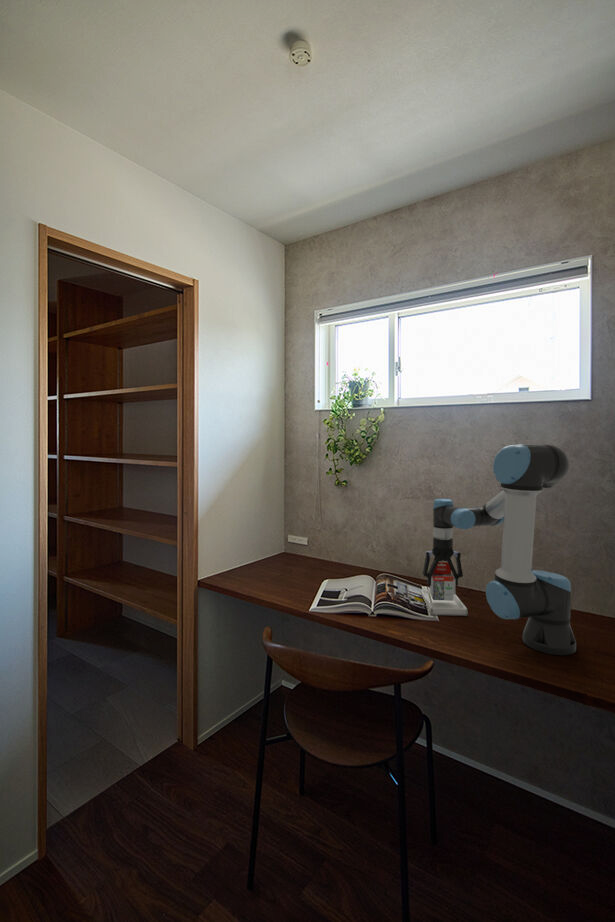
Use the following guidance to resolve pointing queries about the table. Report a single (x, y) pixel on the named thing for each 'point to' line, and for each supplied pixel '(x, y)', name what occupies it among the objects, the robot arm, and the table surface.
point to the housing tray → (445, 606)
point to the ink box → (442, 583)
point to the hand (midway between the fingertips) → (442, 593)
